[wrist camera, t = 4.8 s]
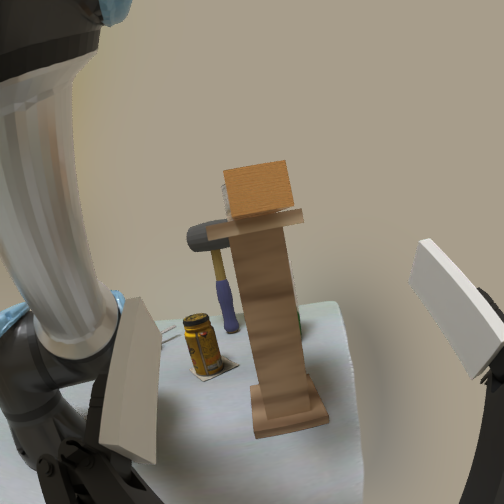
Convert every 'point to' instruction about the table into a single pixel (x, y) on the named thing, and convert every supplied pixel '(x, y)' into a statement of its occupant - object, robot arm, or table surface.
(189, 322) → the condiment
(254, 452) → the table surface
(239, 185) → the wooden handle
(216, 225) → the walnut stand
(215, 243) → the rubber mallet
